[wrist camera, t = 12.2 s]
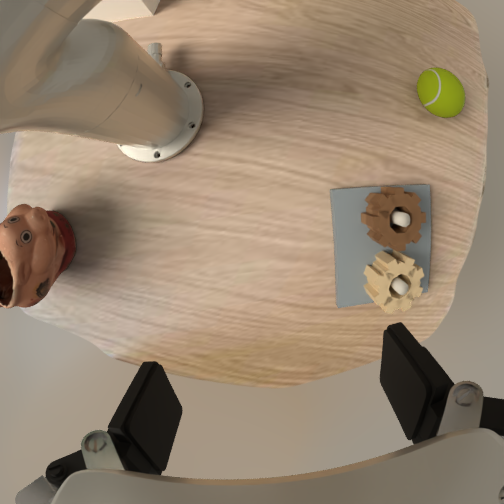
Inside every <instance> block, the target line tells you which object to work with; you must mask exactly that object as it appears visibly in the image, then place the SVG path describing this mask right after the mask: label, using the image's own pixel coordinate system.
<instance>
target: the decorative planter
mask: <svg viewBox="0 0 504 504" xmlns="http://www.w3.org/2000/svg"><path fill="white" fill-rule="evenodd" d="M75 252H76V244H75V237H74V233H73V231H72V228H71V226H70V224H69V223H68V221H67V220H66V219H65V218H64V217H63V216H62V215H61V214H60V213H58V212H55V211H45V210H44V209H43V208H40V207H35V208H32V207H31V206H29V205H27V204H21V205H18V206H17V207H15V208H14V209H13V210H12V211H11V212H10V213H9V214H8V216H7V217H6V218H5V220H4V221H3V222H2V223H1V224H0V307H5V308H12V307H14V306H19V307H25V308H26V307H31V306H33V305H35V304H37V303H38V302H39V301H41V300H42V299H43V298H44V297H45V296H46V295H47V293H48V292H49V290H50V288H51V286H52V285H53V283H54V282H55V281H56V279H57V278H58V276H59V275H60V274H61V273H62V272H63V271H64V270H65V269H66V268H67V267H68V266H69V265H70V263H71V261H72V258H73V257H74V255H75Z"/></svg>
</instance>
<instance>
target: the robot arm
mask: <svg viewBox="0 0 504 504" xmlns="http://www.w3.org/2000/svg"><path fill="white" fill-rule="evenodd" d="M101 1H102V0H0V134H4V133H10V132H18V131H42V132H52V133H59V134H66V135H71V136H77V137H83V138H88V139H94V140H99V141H104V142H109V143H114V144H116V145H117V146H118V148H119V149H120V150H121V151H122V152H123V153H124V154H125V155H126V156H128V157H129V158H131V159H134V160H136V161H140V162H148V163H155V162H160V161H164V160H167V159H169V158H172V157H174V156H175V155H177V154H179V153H180V152H181V151H182V150H184V149H185V148H186V147H187V146H188V145H189V144H190V143H191V141H192V140H193V139H194V137H195V136H196V134H197V132H198V131H199V128H200V125H201V123H202V119H203V113H204V104H203V99H202V95H201V93H200V91H199V89H198V87H197V86H196V84H195V83H194V82H193V81H192V80H191V79H190V78H189V77H188V76H186V75H184V74H183V73H180V72H177V71H174V70H166V68H165V64H164V62H162V59H161V57H162V45H161V44H160V43H152V44H149V45H148V46H147V52H146V51H145V50H144V49H143V48H142V47H141V46H140V45H139V44H138V43H137V42H136V41H135V40H134V39H133V38H132V37H131V36H130V35H129V34H128V33H127V32H126V31H124V30H123V29H122V28H121V27H119V26H118V25H116V24H113V23H111V22H108V21H104V20H99V19H82V18H83V17H84V16H85V15H86V14H88V13H89V12H90V11H91V10H92V9H93V8H94V7H95V6H96V5H97V4H98V3H100V2H101ZM188 86H190V87H189V88H188ZM192 125H195V127H194V128H192ZM158 154H160V157H158ZM380 383H381V385H382V387H383V389H384V391H385V393H386V395H387V397H388V399H389V402H390V404H391V405H392V408H393V410H394V412H395V414H396V416H397V418H398V420H399V422H400V424H401V426H402V429H403V431H404V433H405V435H406V437H407V439H408V440H411V439H412V441H413V444H414V445H411V446H409V447H406V448H403V449H400V450H398V451H395V452H392V453H388V454H385V455H382V456H379V457H376V458H372V459H369V460H365V461H362V462H358V463H354V464H350V465H346V466H342V467H337V468H333V469H328V470H323V471H317V472H311V473H305V474H298V475H291V476H282V477H272V478H259V479H237V480H236V479H234V480H218V479H217V480H216V479H215V480H213V479H192V478H180V477H170V476H161V473H162V471H164V470H165V469H166V467H167V463H168V460H169V456H170V452H171V449H172V446H173V442H174V439H175V436H176V432H177V429H178V426H179V422H180V419H181V415H182V406H181V404H180V402H179V400H178V398H177V396H176V394H175V393H174V390H173V388H172V386H171V384H170V382H169V380H168V378H167V376H166V373H165V371H164V369H163V367H162V365H159V364H158V363H157V362H155V361H153V362H143V363H142V365H141V367H140V368H139V370H138V372H137V374H136V376H135V377H134V379H133V381H132V383H131V385H130V386H129V388H128V390H127V392H126V394H125V395H124V397H123V399H122V401H121V403H120V404H119V406H118V408H117V410H116V412H115V414H114V416H113V417H112V419H111V422H110V423H109V425H108V428H109V429H108V431H107V432H106V431H103V430H95V431H92V432H90V433H88V434H87V435H86V436H85V437H84V438H83V440H82V442H81V450H79V451H77V452H75V453H72V454H70V455H68V456H65V457H63V458H61V459H58V460H56V461H53V462H52V463H50V465H49V466H48V467H47V469H46V477H44V476H41V477H39V478H38V479H36V480H35V481H34V482H32V483H31V484H30V485H28V486H27V487H25V488H24V489H22V490H21V491H19V492H18V494H17V495H16V504H504V399H497V398H490V397H484V396H483V391H482V389H481V387H480V386H479V385H478V384H476V383H474V382H471V381H462V382H459V383H457V384H454V383H453V382H452V380H451V379H450V378H449V376H448V375H447V374H446V373H445V371H444V370H443V369H442V367H441V366H440V365H439V364H438V362H437V361H436V360H435V359H434V357H433V356H432V355H431V354H430V352H429V351H428V350H427V349H426V348H425V347H422V346H421V345H420V344H419V343H418V341H417V340H416V339H415V338H414V337H413V335H412V334H411V333H410V332H409V331H408V329H407V328H406V327H405V326H404V325H403V324H402V323H401V322H399V323H396V324H392V325H389V326H388V327H387V330H384V334H383V349H382V361H381V371H380Z"/></svg>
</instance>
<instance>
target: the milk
mask: <svg viewBox="0 0 504 504" xmlns="http://www.w3.org/2000/svg"><path fill="white" fill-rule="evenodd" d="M159 2H160V0H102V1H101V2H100V3H98V4H97V5H96V6H95V7H94V8H93V9H92V10H91V11H90V12H89V13H88V14H86V15H85V16H84V17H83V18H82V19H99V20H104V21H108V22H116V21H122V20H127V19H133V18H140V17H147V16H154V14H155V11H156V9H157V7H158V4H159Z"/></svg>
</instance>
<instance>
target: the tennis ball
mask: <svg viewBox="0 0 504 504" xmlns="http://www.w3.org/2000/svg"><path fill="white" fill-rule="evenodd" d="M417 93H418V96H419V99H420V101H421V103H422V104H423V106H424V107H425V108H426V109H427V110H428V111H429V112H431V113H432V114H434V115H436V116H439V117H443V118H449V117H454V116H456V115H457V114H459V113H460V112H461V111H462V109H463V107H464V104H465V92H464V88H463V86H462V84H461V82H460V81H459V80H458V78H457V77H456V76H455V75H453V74H452V73H451V72H449V71H447V70H445V69H442V68H430V69H427V70H425V71H424V72H423V73H422V74H421V75H420V77H419V79H418V82H417Z"/></svg>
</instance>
